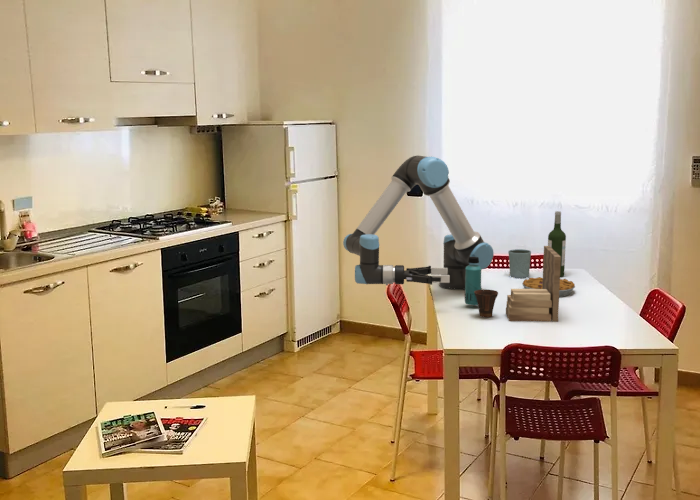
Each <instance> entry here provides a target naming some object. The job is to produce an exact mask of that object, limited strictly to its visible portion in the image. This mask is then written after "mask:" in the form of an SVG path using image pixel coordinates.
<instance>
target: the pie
mask: <svg viewBox="0 0 700 500" xmlns="http://www.w3.org/2000/svg"><path fill="white" fill-rule="evenodd" d="M542 284H543V277H541V276H540V277H539V276H537V277H535V278H534V277H528V278H524V280H523V282H522V283H521V285H522V287H524V288H523V289H542ZM575 288H576V286H575V283H574V282H573V281H572V280H570V281H569V280H568V279H566V278H563V279H562V278H560V288H559V298H563V297H567V296H570V295H571V294H572V291H574V289H575Z"/></svg>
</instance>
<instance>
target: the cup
mask: <svg viewBox="0 0 700 500" xmlns="http://www.w3.org/2000/svg"><path fill="white" fill-rule="evenodd" d="M474 294H475V296H476V299H477V303H478V305H477V306H478V315H479V317H480V318H492V317H493V311H494V308H495V303H496V299H497V298H498V295H499V292H498V290H494V289H486V288H485V289H481V290H476V291H474Z"/></svg>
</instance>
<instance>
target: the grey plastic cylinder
mask: <svg viewBox="0 0 700 500" xmlns="http://www.w3.org/2000/svg"><path fill="white" fill-rule="evenodd" d="M531 254H532V251H531V250H530V249H520V248H519V249H518V248H516V249H510V250H508V264H509V266H508V267H509V277H510V276H511V277H510V278H512V277H515V278H514V279H519V278H520V279H527V278H526V277H528V278H530V267H531Z"/></svg>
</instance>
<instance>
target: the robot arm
mask: <svg viewBox="0 0 700 500" xmlns="http://www.w3.org/2000/svg"><path fill="white" fill-rule="evenodd" d="M449 173H450V171H449V167H448V164H446V162H445V161H444V160H443V159H441V158H438V157H435V156H427V155H426V156H425V155H413V156H410V157H409V158H407V159H405V161H404V162H403V163H401V165H400V166H398V168H397V169H396V171H395V172H394V173H393V175H392V176H391V178H390V179H391V181H390V182H389V184H388V185H387V186H386V188H385V189H384V191H383V192H382V194H381V195H380V196H379V198H378V199H377V200H376V202H375V203H374V204H373V206H372V207H371V208H370V210H369V211H368V213H367V214H366V215H365V216H364V217H363V219H362V220H361V222H360V223H359V225H358V226H357V227H356V228H355V230H354V231H353V232H352V233H349V234H347V235H345V237H344V239H343V241H342V242H343V243H342V244H343V248H344V249H345V250H346V251H347V252H349V253H351V254H354V255H355V256H356V255H357V256H359V264H356V265H355V266H354V280H355V281H354V282H355V283H356V284H362V285H385V286H388V285H393V284H395V285H404V284H405V282H407V283H409V282H410V283H419V284H426V285H427V284H428V285H430V286H431V285H433V283H437V284H438V285H439V287H441V288H442V289H446V290H447V289H448V290H465V276H466V269H465V268H466V267H467V266H468V265H479V266H480V267H481V268H482V270H485V269H487V268H488V266H490V265H491V264H492V261H493V258H494V253H495V252H494V249H493V247H492V245H491V244H489V243H488V242H485V241H484V239H483V237H482V235H481V234H480V232H478V231H474V229H473V227H472V226H471V224H470V222H469V220H468V219H467V217H466V214H465V213H464V212H463V209H462V207H461V206H460V204H459V202H458V200H457V199H456V197H455V194H454V193H453V191H452V190H451V188H450V186H449V185H450V183H451V182H450V178H449ZM417 185H418V186H419V187H420V189H421V191H422V193H423V194H424V195H425V196H427V197H430V200H431V201H432V203H433V205H434V206H435V208H436V210H437V211H438V213H439V215H440V217H441V219H442V220H443V221H444V223H445V225H446V227H447V229H448V230H449V232H450V234H447V235H445V236H444V238H443V243H442V244H443V267H432V266H431V265H428V266H421V267H411V268H410V267H407V268H406V270H405V266H404V265H403V264H397V265H393V264H380V239H379V236H378V235H377V232H378V231H379V229H380V228H381V227H382V225H383V224H384V223H385V221H386V220H387V219H388V217H389V216H390V214H391V213H392V212H393V210H394V209H395V207H397V206H398V204H399V202H401V200H402V199H403V197H404V196H405V195H406V194H407V193H408V192H411V191H412V190H413V188H414V187H415V186H417ZM469 257H478V258H479V263H469V262H468V260H469ZM405 280H406V281H405Z"/></svg>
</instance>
